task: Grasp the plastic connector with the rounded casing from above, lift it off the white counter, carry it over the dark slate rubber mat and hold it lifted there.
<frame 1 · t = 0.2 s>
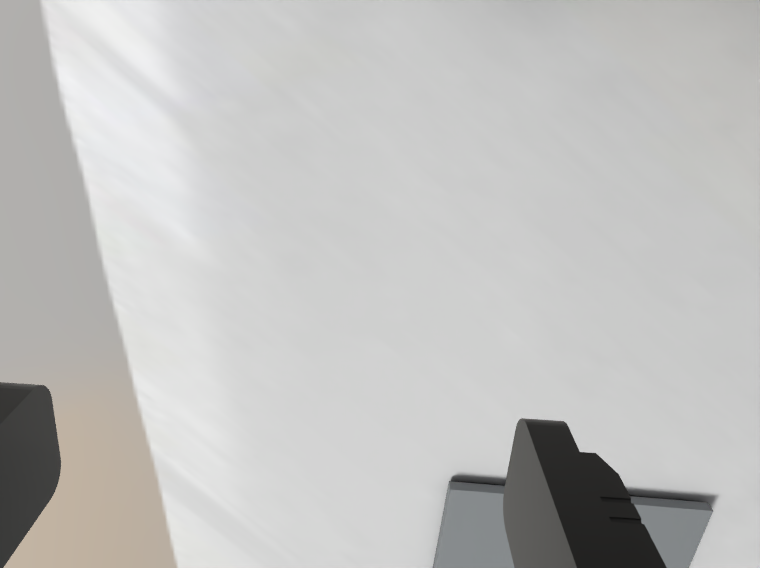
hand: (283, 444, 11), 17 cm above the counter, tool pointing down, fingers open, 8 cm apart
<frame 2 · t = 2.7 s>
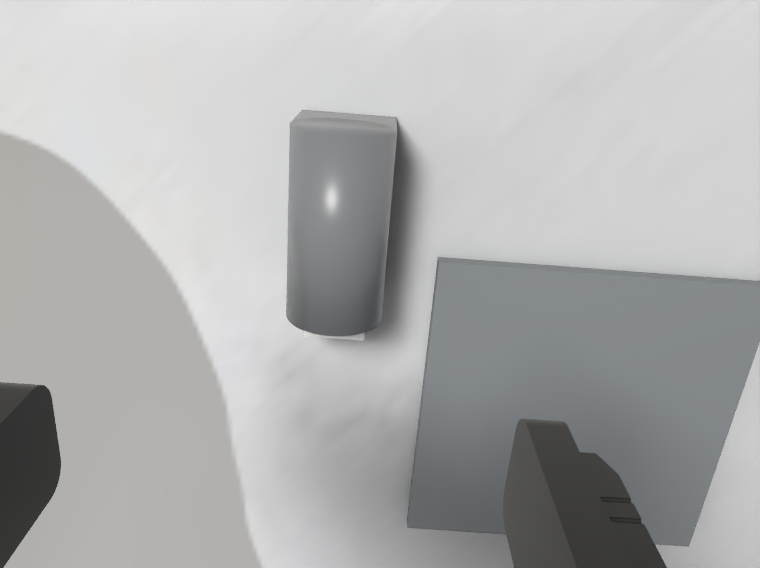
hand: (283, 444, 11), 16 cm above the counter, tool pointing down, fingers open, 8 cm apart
slate mat: (572, 410, 29), on the counter
connector: (344, 202, 26), on the counter
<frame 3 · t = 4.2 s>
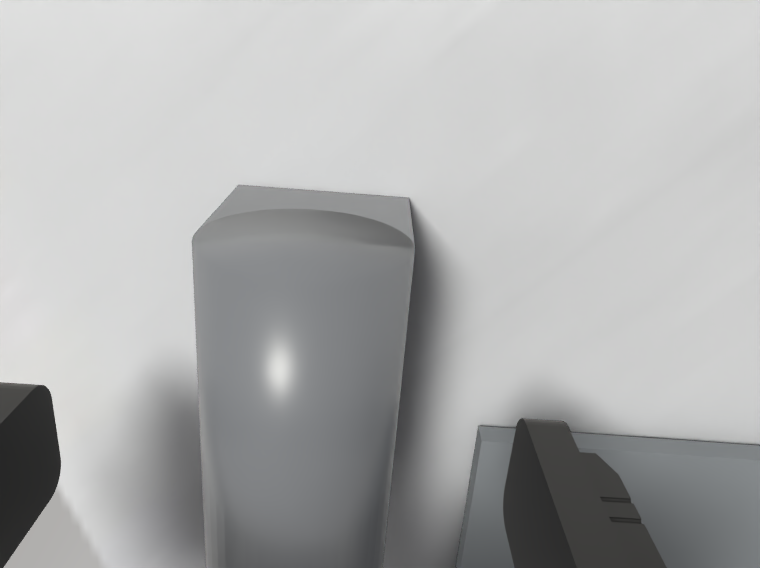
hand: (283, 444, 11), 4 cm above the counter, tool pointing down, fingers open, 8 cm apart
connector: (317, 338, 15), on the counter
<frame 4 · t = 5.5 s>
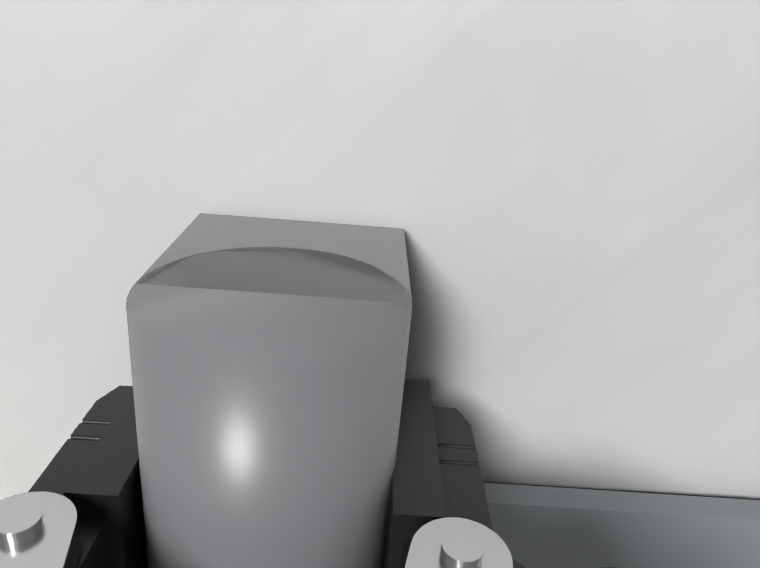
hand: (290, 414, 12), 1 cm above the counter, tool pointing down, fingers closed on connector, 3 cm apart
connector: (297, 390, 13), on the counter, touching gripper
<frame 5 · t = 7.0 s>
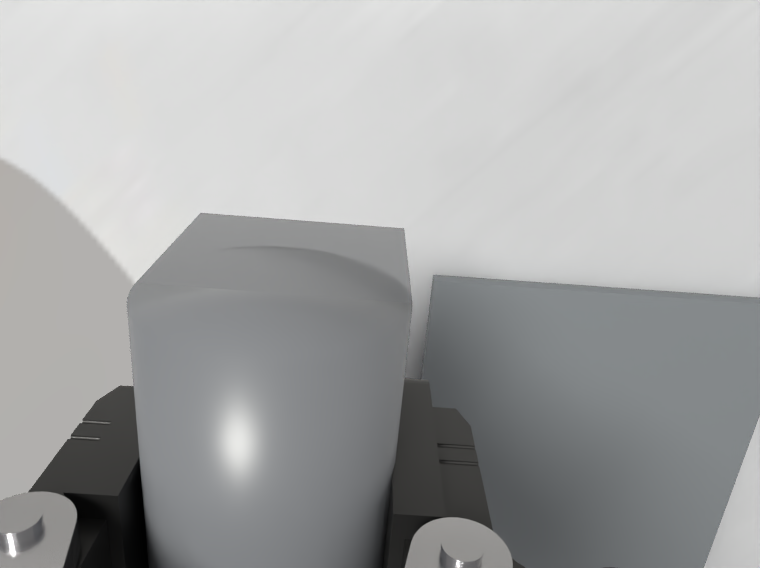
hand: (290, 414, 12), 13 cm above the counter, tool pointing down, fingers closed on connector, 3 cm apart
slate mat: (577, 437, 27), on the counter
connector: (297, 389, 13), point 12 cm above the counter, touching gripper
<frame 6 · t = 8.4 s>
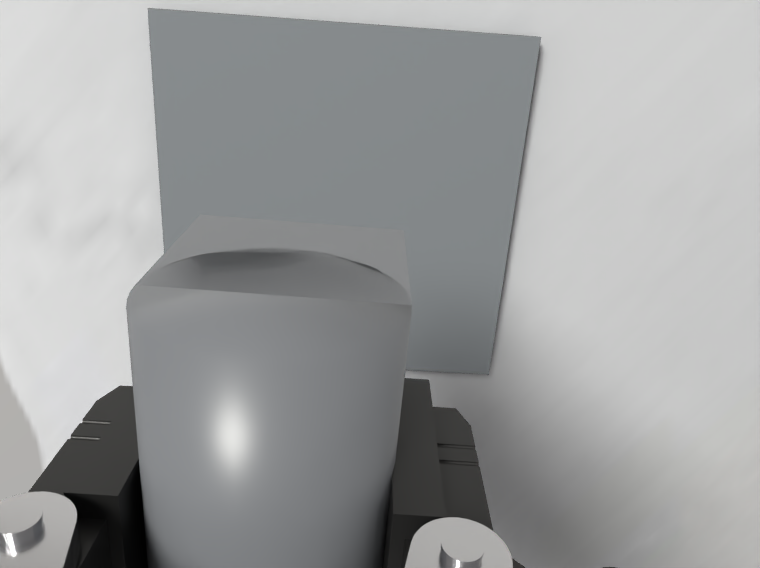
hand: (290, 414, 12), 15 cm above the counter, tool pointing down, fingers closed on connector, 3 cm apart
slate mat: (338, 208, 26), on the counter
connector: (296, 391, 13), point 14 cm above the counter, touching gripper
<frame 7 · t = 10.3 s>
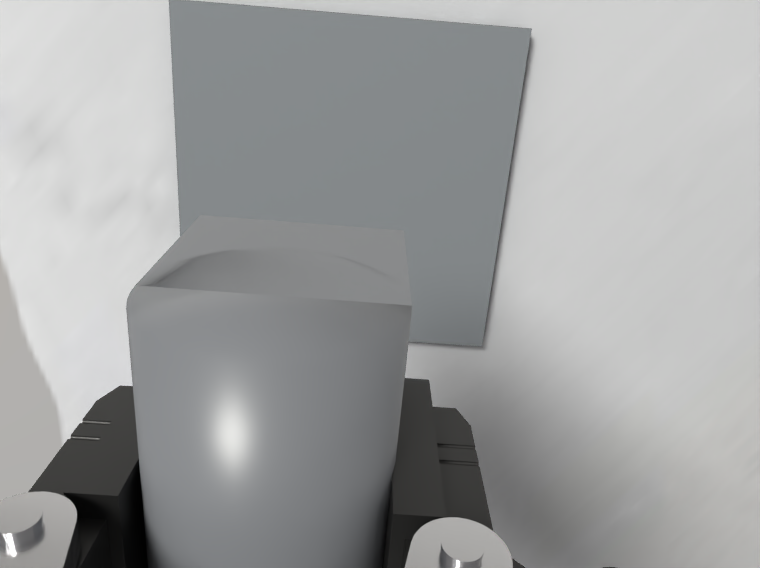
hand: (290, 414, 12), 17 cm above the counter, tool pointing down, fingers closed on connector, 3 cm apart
slate mat: (342, 187, 28), on the counter
connector: (296, 391, 13), point 16 cm above the counter, touching gripper
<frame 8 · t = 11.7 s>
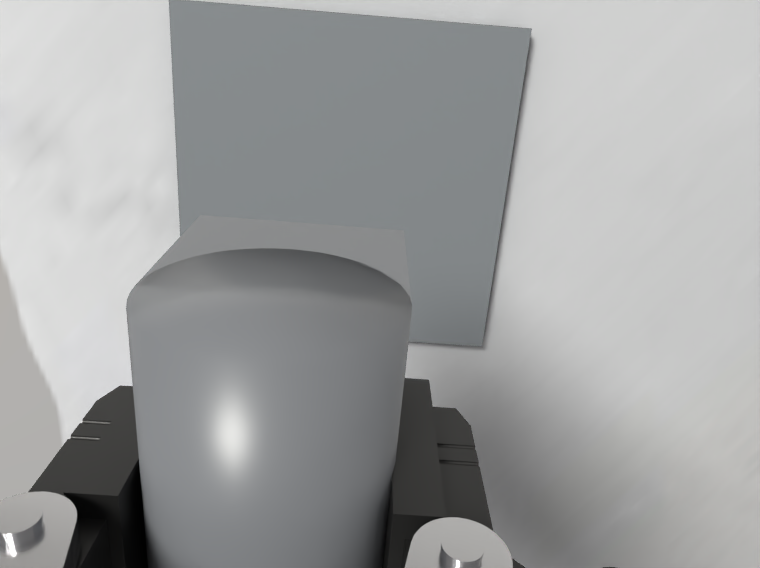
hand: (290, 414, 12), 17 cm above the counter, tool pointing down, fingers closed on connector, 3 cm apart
slate mat: (342, 187, 28), on the counter
connector: (296, 391, 13), point 16 cm above the counter, touching gripper
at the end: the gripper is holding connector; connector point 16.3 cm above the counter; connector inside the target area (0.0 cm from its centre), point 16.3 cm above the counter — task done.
